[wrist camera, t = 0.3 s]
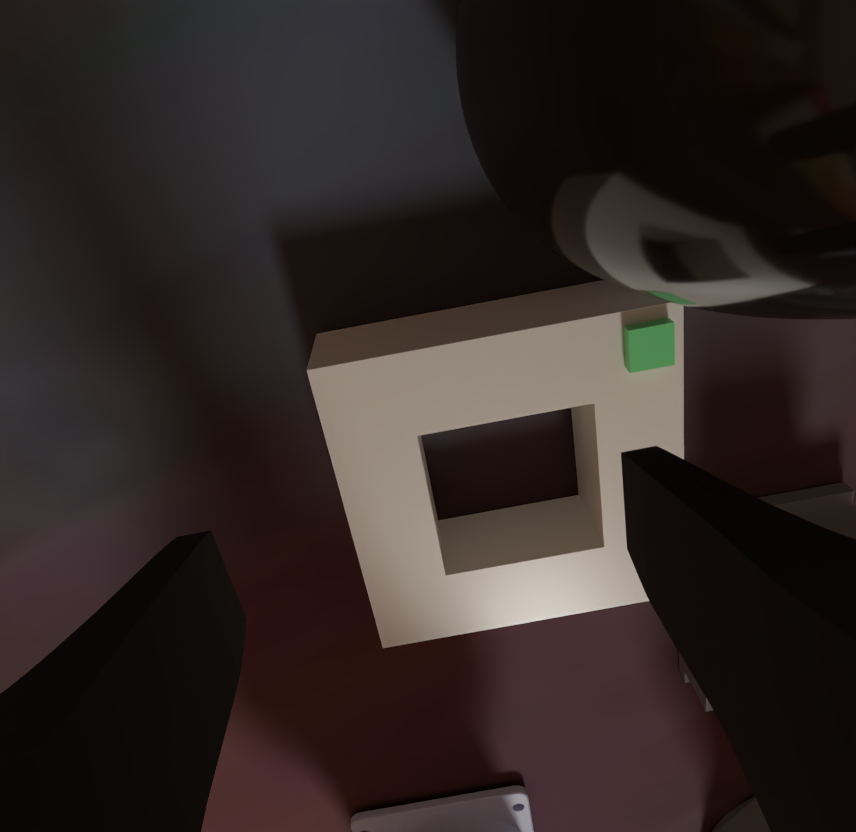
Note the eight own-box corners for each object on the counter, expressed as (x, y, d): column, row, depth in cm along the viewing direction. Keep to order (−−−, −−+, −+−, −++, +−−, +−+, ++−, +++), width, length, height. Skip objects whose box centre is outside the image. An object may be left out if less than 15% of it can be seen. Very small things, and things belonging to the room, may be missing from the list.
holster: (823, 645, 27) (863, 695, 25) (678, 671, 27) (705, 722, 25) (843, 481, 24) (892, 522, 22) (677, 511, 24) (708, 555, 22)
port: (650, 539, 24) (689, 602, 21) (382, 587, 25) (383, 657, 21) (642, 272, 20) (689, 304, 17) (316, 333, 20) (304, 376, 17)
